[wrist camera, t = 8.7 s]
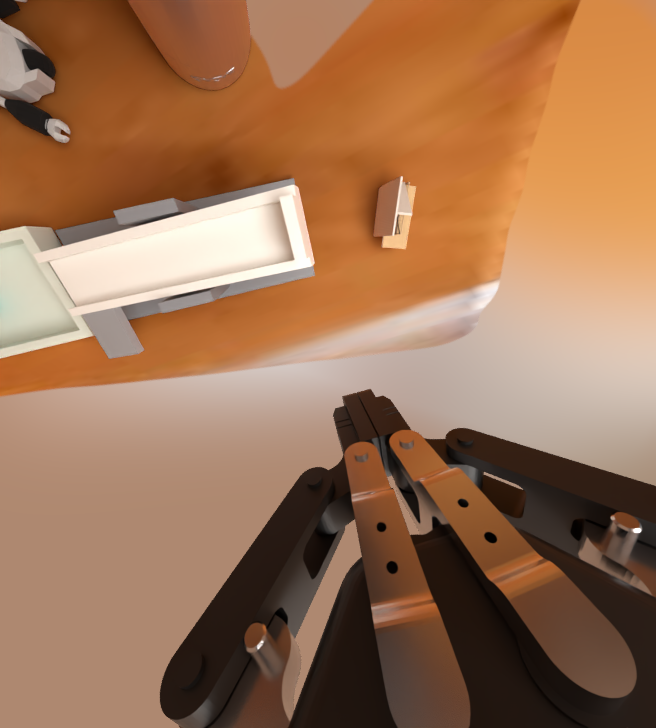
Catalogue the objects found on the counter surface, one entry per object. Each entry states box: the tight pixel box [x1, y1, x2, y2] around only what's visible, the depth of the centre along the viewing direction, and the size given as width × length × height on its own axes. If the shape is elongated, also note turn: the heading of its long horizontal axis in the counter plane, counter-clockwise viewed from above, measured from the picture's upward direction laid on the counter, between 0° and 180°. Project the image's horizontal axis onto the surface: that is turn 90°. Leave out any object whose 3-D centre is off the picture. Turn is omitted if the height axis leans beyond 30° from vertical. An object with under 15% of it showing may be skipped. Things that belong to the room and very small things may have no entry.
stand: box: [55, 178, 315, 320], centre depth 29 cm, size 11×27×10 cm, turn 102°
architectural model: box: [373, 176, 416, 249], centre depth 33 cm, size 3×7×7 cm, turn 176°
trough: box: [33, 185, 315, 359], centre depth 27 cm, size 12×26×6 cm, turn 102°
